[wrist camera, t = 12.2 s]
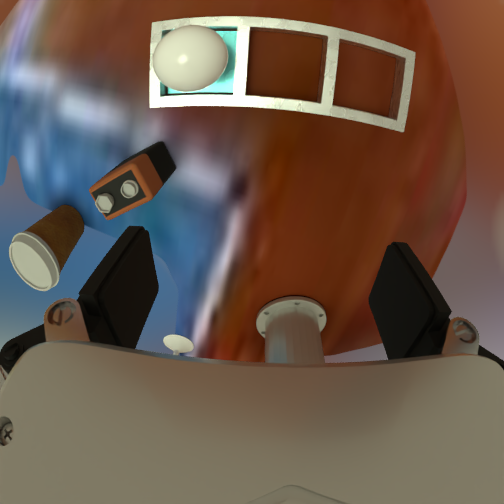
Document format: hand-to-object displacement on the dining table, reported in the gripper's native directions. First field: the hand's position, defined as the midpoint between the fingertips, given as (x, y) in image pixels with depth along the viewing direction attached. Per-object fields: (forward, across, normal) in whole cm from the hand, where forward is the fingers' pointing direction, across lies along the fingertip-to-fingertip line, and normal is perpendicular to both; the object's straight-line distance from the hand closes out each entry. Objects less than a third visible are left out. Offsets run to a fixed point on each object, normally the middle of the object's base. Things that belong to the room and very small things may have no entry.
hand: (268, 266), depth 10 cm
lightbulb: (+24, +7, -10) cm, 26 cm away
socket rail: (+24, -2, -10) cm, 26 cm away
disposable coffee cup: (+24, +31, +12) cm, 41 cm away
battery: (+24, +15, +3) cm, 29 cm away
